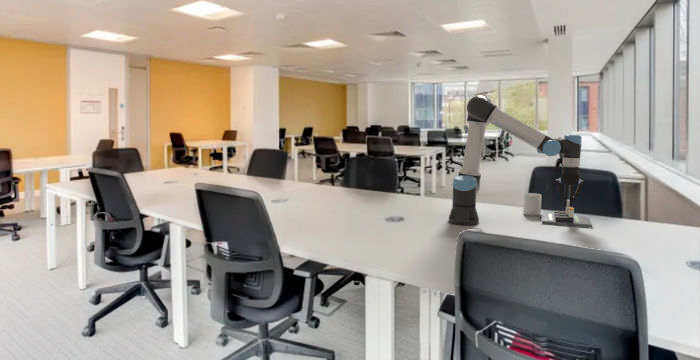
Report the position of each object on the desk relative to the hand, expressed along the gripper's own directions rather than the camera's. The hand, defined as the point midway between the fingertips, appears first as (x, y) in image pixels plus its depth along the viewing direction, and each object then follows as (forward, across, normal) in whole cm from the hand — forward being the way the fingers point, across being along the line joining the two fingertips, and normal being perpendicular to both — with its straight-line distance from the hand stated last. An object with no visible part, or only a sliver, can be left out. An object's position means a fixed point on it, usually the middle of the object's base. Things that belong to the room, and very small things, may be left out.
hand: (567, 212), depth 208 cm
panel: (+6, 0, +5) cm, 8 cm away
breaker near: (+2, +2, 0) cm, 2 cm away
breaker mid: (+2, +1, +6) cm, 6 cm away
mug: (+6, -16, +19) cm, 26 cm away
